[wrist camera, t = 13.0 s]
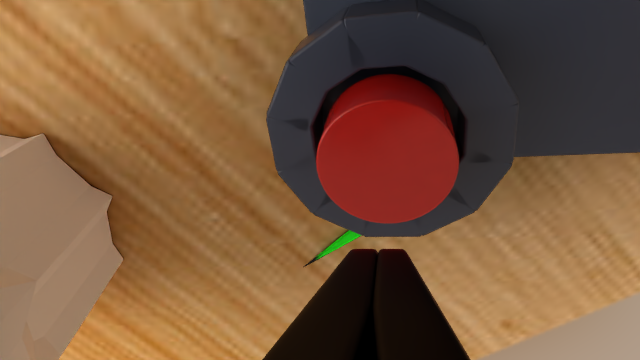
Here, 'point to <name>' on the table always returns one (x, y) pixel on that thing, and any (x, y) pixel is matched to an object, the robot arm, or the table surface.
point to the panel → (465, 87)
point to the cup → (48, 250)
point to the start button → (388, 150)
